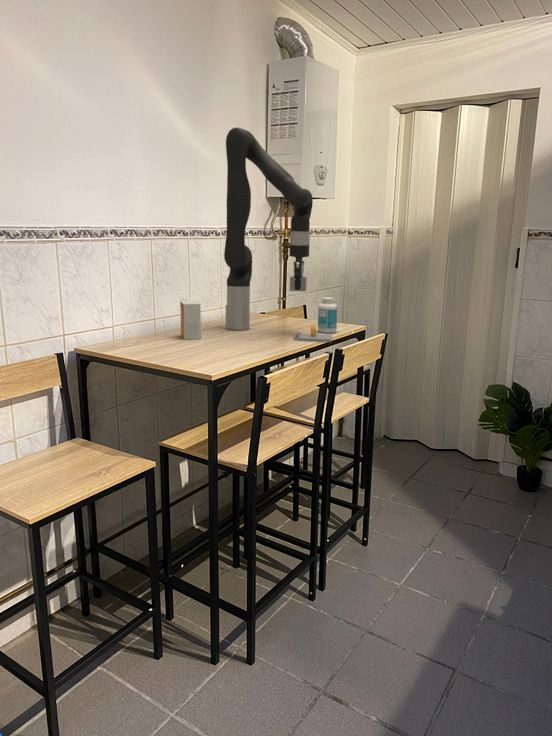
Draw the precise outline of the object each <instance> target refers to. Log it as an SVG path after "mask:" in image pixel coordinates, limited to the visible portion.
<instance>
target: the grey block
mask: <svg viewBox="0 0 552 736" xmlns="http://www.w3.org/2000/svg"><path fill="white" fill-rule="evenodd" d="M307 278H308V277H307V276H303V277H301V289H300V290H295V279H294V275H291V276H290V277H289V291H290V292H306V291H307V285H308V283H307V280H308V279H307Z"/></svg>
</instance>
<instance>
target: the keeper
mask: <svg viewBox="0 0 552 736" xmlns="http://www.w3.org/2000/svg"><path fill="white" fill-rule="evenodd" d="M293 340H299V342H301V341H300V340H304V341H303V342H318V343H319V342H321V343H323V342H324V343H332V342H333V335H332V334H324V333H323V334H320V333H318V334H317V325H315V324H313V325H310V333H301V332H300V331H296V333H294V336H293Z"/></svg>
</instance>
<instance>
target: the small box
mask: <svg viewBox="0 0 552 736" xmlns="http://www.w3.org/2000/svg"><path fill="white" fill-rule="evenodd" d="M179 303H180V304H179V305H180V336H181V337H182V338H183V340H201V339H202V325H201V323H202V322H201V321H202V319H201V315H202V314H201V312H202V311H201V303H200V302H198V301H197V300H182V301H181V300H180V302H179Z"/></svg>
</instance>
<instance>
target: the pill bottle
mask: <svg viewBox="0 0 552 736" xmlns="http://www.w3.org/2000/svg"><path fill="white" fill-rule="evenodd" d="M321 302H322V303H320V304H319V305H318V312H317V313H318V315H317V316H318V317H317V331H318V332H319V333H323V334H334V333H336V332H337V329H338V327H337V326H338V325H337V323H338V306H337V303H334V302H335V298H334V297H322V298H321Z"/></svg>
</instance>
